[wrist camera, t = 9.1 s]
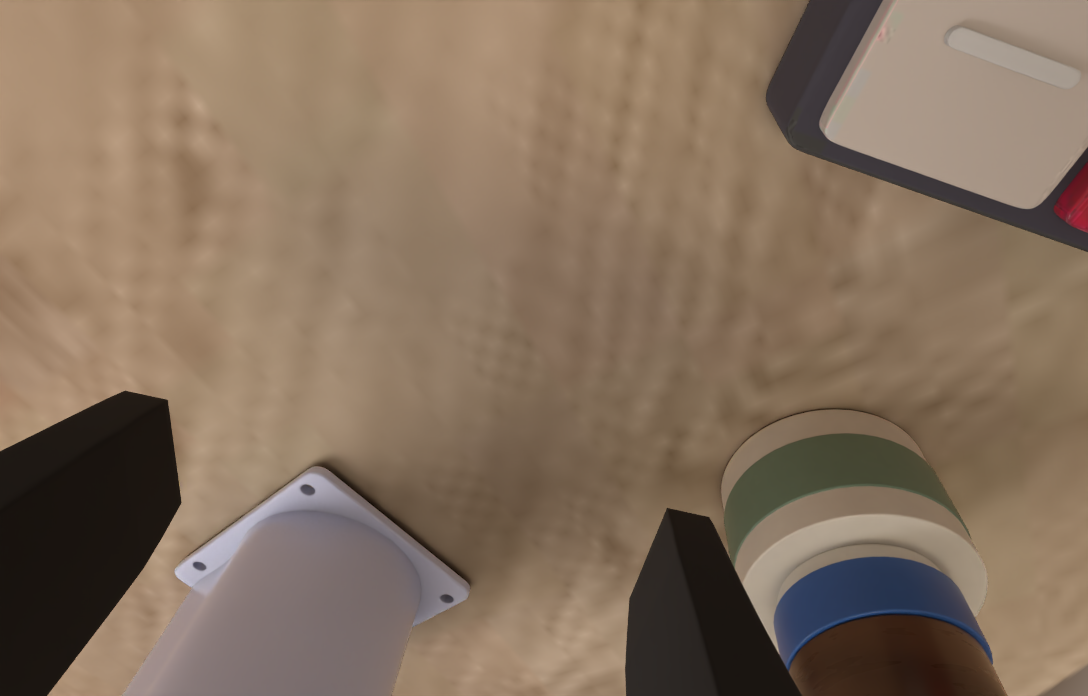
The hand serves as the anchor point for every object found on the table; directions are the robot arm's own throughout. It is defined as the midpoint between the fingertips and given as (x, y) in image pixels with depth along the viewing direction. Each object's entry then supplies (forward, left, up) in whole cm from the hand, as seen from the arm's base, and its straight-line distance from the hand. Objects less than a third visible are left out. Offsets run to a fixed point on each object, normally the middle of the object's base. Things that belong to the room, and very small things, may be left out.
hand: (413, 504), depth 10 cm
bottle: (+2, -13, -10) cm, 17 cm away
